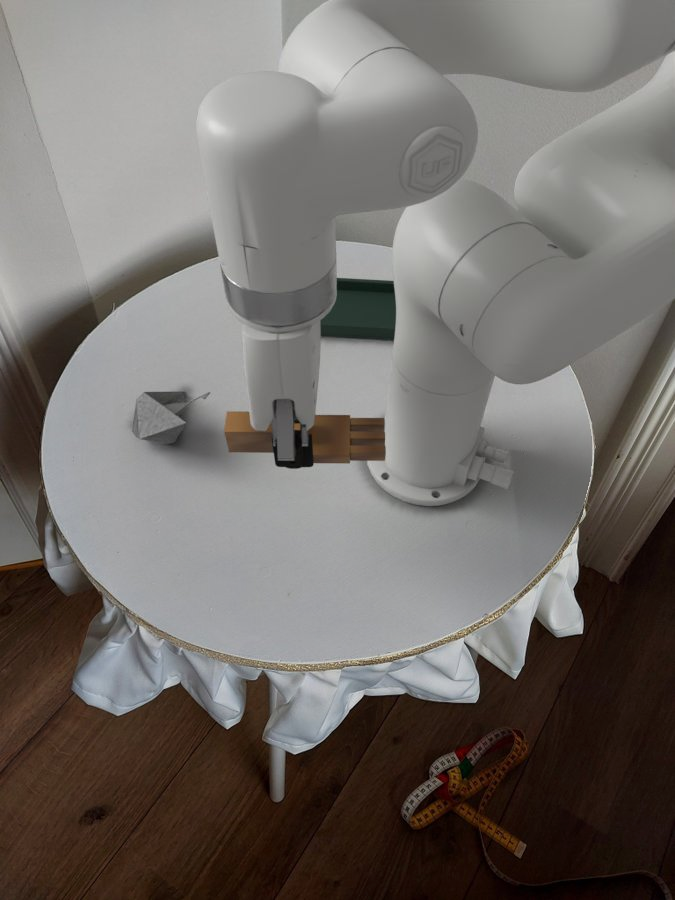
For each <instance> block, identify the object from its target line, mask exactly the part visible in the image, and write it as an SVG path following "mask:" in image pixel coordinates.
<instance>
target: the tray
mask: <svg viewBox="0 0 675 900" xmlns="http://www.w3.org/2000/svg"><path fill="white" fill-rule="evenodd" d="M320 326H321V338H322V337H324V338H325V337H326V338H341V339H358V340H361V339H362V340H378V341H393V342H394V337H395V326H396V299H395V289H394V281H393V280H385V279H368V278H367V279H366V278H365V279H364V278H347V277H337V297H336V301H335V304H334V306H333V307H332V309H331V311H330V312H329V313H328V314H327V315H326V316H325V317H324V318H323V319H321V320H320Z"/></svg>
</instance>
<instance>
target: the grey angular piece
mask: <svg viewBox="0 0 675 900" xmlns="http://www.w3.org/2000/svg"><path fill="white" fill-rule="evenodd" d="M185 393H186V391H143V392H142V393H141V394H140V395H139V396H137V398H136V399H135V400H136V401H135V408H134V415H133V422H132V429H131V432H132V434H133V435H134V436H135V438H137V439H138V440H142V441H147V442H151V443H155V444H158V445H159V444H161V445H170V444H174V443H175V442H176V441H177V439H178V438H179V436H180V434H181V433H182V431H183V430H184V428H185V425H186V424H187V422H186V421H184V420H183V419H182V418H181V413H182V412H183V411H184V410H185V409H186V408H187V406H188V405H189V404H190V403H193V402H195V401H196V400H199V399H203V400H206V399H207V398H208V397H209V395H210V394H211V392H210V391H208V392H206V393H204V394H202V395H199V396H198V397H196V398H194V399H192V400H191V401H187V402H184V399H185V395H186V394H185Z"/></svg>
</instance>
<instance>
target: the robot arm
mask: <svg viewBox="0 0 675 900" xmlns="http://www.w3.org/2000/svg"><path fill="white" fill-rule="evenodd" d="M661 58H664V59H663V60H662V62H661V64H660V66H659V68H658V70H657V71H656V73H655V74H654V75H653V77H652V78H651V79H650V80H649V81H648V82H647V83H646V84H645V85H643V86H642V87H641V88H639V89H638V90H636V91H634V92H633V93H632V94H630V95H629V96H627V97H626V98H624V99H622V100H620V101H619V102H617V103H615V104H613V105H612V106H610V107H608V108H606V109H605V110H603V111H601V112H599V113H597V114H596V115H594V116H592V117H590V118H589V119H587V120H585V121H584V122H582V123H580V124H578V125H576V126H574V127H573V128H571V129H570V130H568V131H566V132H564V133H563V134H561V135H560V136H558V137H556V138H555V139H553V140H552V141H550V142H548V143H547V144H546V145H544V146H542V147H541V148H539V149H538V150H537V151H535V153H534V154H532V155H531V156H530V157H529V158H528V159H527V160H526V162H525V163H524V164H523V165H522V167H521V168H520V170H519V172H518V173H517V176H516V179H515V183H514V187H513V197H514V204H515V206H516V208H515V207H514V206H513V205H512V204H511V203H509V201H507V200H506V199H504V198H503V197H502V196H500V194H498V193H496V192H495V191H494V190H492V189H490V188H488V187H486V186H485V185H483V184H481V183H479V182H476V181H473V180H468V179H464V178H462V177H463V176H464V175H465V173H466V171H468V169H469V167H470V165H471V164H472V162H473V160H474V157H475V154H476V153H477V152H476V151H477V145H478V142H479V125H478V122H477V117H476V114H475V112H474V109H473V107H472V105H471V104H470V101H469V100H468V99H467V98H466V95H464V93H463V92H462V91H461V90H460V89H459V88H458V87H457V86H456V85H454V84H455V83H453V82H452V81H451V80H450V79H448V78H447V77H446V76H445V75H447V76H448V75H475V76H483V77H491V78H496V79H500V80H505V81H509V82H513V83H517V84H521V85H525V86H529V87H534V88H539V89H542V90H543V89H545V90H552V91H557V92H559V91H560V92H568V93H590V92H596V91H599V90H602V89H604V88H606V87H608V86H610V85H612V84H614V83H615V82H617V81H619V80H621V79H623V78H625V77H627V76H629V75H631V74H633V73H634V72H635V73H636V72H638V71H639V70H641V69H643V68H644V67H646V66H648V65H650V64H652V63H654V62H656V61H658V60H660V59H661ZM195 131H196V139H197V145H198V151H199V156H200V162H201V167H202V174H203V179H204V184H205V190H206V196H207V200H208V206H209V211H210V217H211V222H212V227H213V233H214V239H215V244H216V245H215V246H216V249H217V255H218V261H219V266H220V271H221V276H222V282H223V283H222V284H223V288H224V294H225V300H226V303H227V307H228V310H229V311H230V313H231V314H232V316H233V317H234V318H235V319H236V320H237V321H239V322H240V323H241V337H242V338H241V340H242V343H241V344H242V358H243V359H242V360H243V368H244V379H245V388H246V395H247V403H248V412H249V414H250V422H251V426H252V427H253V428H254V429H255V430H256V431H267V429H268V427H269V426H270V424H272V445H273V451H274V453H273V457H274V458H273V459H274V465H275V466H276V467H277V468H286V469H291V470H296V469H297V470H298V469H301V468H312V467H314V463H313V461H314V459H313V444H312V434H309V433H308V430H309V429H310V428H311V427H312V426H313V425H314V420H315V415H316V411H317V410H316V409H317V401H318V390H319V382H320V381H319V379H320V365H321V345H322V344H321V341H322V339H321V338H322V336H321V326H320V320H321V319H323V318H324V317H325V316H326V315H327V314H328V313H329V312H330V311H331V309H332V307H333V306H334V304H335V301H336V297H337V278H338V277H337V276H338V275H337V271H338V270H337V269H338V266H337V231H336V230H337V225H336V224H337V221H336V219H337V217H338V216H344V215H350V214H351V215H352V214H360V213H368V212H369V213H370V212H378V211H379V212H380V211H387V210H388V211H389V210H396V209H401V208H402V209H403V208H405V209H404V210H403V212H402V214H401V216H400V218H399V220H398V222H397V224H396V225H397V226H396V228H395V232H394V236H393V242H392V250H391V270H392V279H393V280H392V281H394V289H395V299H396V326H395V337H394V341H393V345H392V351H391V352H392V353H391V362H390V370H389V378H388V385H387V386H388V387H387V393H386V404H385V411H384V417H383V418H385V431H384V432H385V446H386V457H385V461H366V464H367V467H368V470H369V472H370V475H371V476H372V477H373V479H374V480H375V482H376V484H378V486H380V487H381V489H383V490H384V491H385V492H387V493H388V494H389V495H390V496H392V497H394V498H396V499H398V500H400V501H403V502H405V503H409V504H412V505H415V506H424V507H434V506H437V507H438V506H443V505H448V504H452V503H454V502H456V501H459V500H461V499H463V498H464V497H466V496H467V495H468V494H470V493H471V492H472V491H473V490H474V489H475V488H476V486H477V485H478V483H479V481H480V480H483V481H486V482H488V483H490V484H491V485H494V486H496V487H500V488H503V489H506V490H508V489H509V486H510V483H511V481H512V478H513V476H514V470H511V469H508V468H505V467H502V466H499V465H494V464H491V463H489V462H486V459H488V460H491V461H492V462H496V463H499V464H502V465H504V464H505V461H506V459H507V457H508V453H509V452H508V451H507V450H503V449H501V448H497V447H493V446H490V445H487V441H484V440H482V439H483V436H484V433H485V427H484V426H481V425H482V422H483V419H484V415H485V411H486V408H487V405H488V401H489V398H490V394H491V391H492V388H493V384H494V380H495V377H496V378H498V379H500V380H501V381H503V382H505V383H507V384H512V385H530V384H534V383H537V382H539V381H542V380H544V379H546V378H549V377H551V376H553V375H555V374H557V373H559V372H560V371H562V370H563V369H565V368H567V367H569V366H570V365H572V364H573V363H576V362H577V361H579V360H581V359H582V358H583V357H585V356H587V355H588V354H590V353H592V352H593V351H595V350H596V349H598V348H600V347H601V346H603V345H605V344H606V343H608V342H610V341H611V340H613V339H615V338H616V337H617V336H619V335H621V334H623V333H624V332H626V331H627V330H629V329H631V328H632V327H634V326H636V325H637V324H639V323H641V322H642V321H644V320H645V319H647V318H649V317H650V316H651V315H654V314H655V313H656V312H658V311H659V310H660V309H662V308H664V307H665V306H666V305H668V304H669V303H671V302H672V301H674V300H675V0H327V1H325V2H323V3H322V4H320V5H319V6H317V7H316V8H315V9H313V10H312V11H311V12H310V13H308V14H307V15H306V16H305V17H303V19H302V20H301V21H300V22H299V23H298V24H297V25H296V26H295V28H294V29H293V30H292V31H291V33H290V35H289V36H288V38H287V40H286V41H285V44H284V45H283V48H282V50H281V52H280V57H279V61H278V67H277V71H273V70H272V71H271V70H262V71H261V70H260V71H251V72H246V73H241V74H238V75H235V76H231V77H229V78H227V79H225V80H223V81H222V82H220V83H219V84H217V85H216V86H214V87H213V88H212V89H211V90H210V91H209V92H208V93H207V94H206V95H205V96H204V98H203V100H202V101H201V103H200V105H199V106H198V111H197V115H196V121H195ZM294 423H300V430H294Z"/></svg>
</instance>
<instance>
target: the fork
mask: <svg viewBox="0 0 675 900" xmlns="http://www.w3.org/2000/svg"><path fill="white" fill-rule="evenodd" d="M294 430H300V423H294ZM384 431H385V418H384V417H351V415H350V414H315V420H314V425H313V426H312V427H311V428H310V429H309V430H308V433H309V434H312V444H313V459H314V461H313V464H351V461H352V462H353V461H355V462H360V461H361V462H367V461H385V457H386V446H385V432H384ZM223 433H224V438H225V441H226V446H227V451H228V453H241V454H243V453H244V454H245V453H249V454H253V453H256V454H258V453H260V454H261V453H265V454H267V453H268V454H274V451H273V445H272V424H270V426H269V427H268V429H267V431H256V430H255V429H254V428H253V427H252V426H251V422H250V414H249V411H241V410H240V411H235V410H234V411H232V410H231V411H229V410H227V411H226V413H225V422H224V430H223Z"/></svg>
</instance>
